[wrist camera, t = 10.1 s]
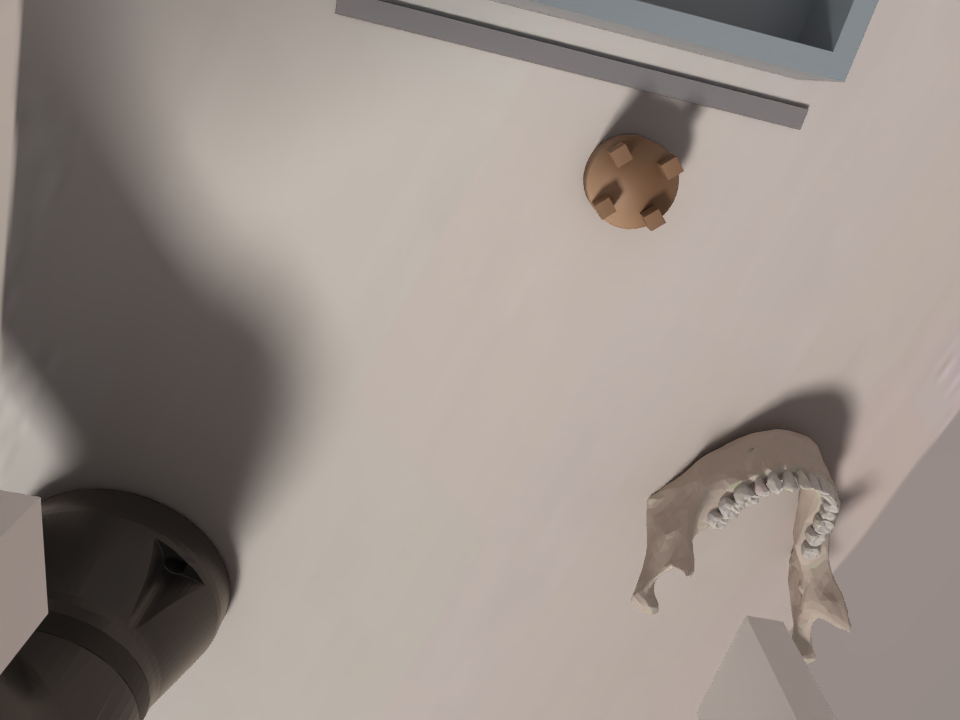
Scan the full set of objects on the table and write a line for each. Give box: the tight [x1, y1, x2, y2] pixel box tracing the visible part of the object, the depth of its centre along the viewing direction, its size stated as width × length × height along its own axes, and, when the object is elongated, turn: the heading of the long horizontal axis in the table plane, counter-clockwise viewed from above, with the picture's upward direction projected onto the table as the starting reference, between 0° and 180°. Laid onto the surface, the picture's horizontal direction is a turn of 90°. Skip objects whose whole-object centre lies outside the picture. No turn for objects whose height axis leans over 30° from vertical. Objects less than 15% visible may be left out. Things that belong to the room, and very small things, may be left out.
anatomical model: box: [631, 429, 851, 663], centre depth 41 cm, size 13×11×10 cm
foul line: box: [335, 0, 808, 130], centre depth 33 cm, size 24×1×1 cm, turn 77°
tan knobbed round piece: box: [583, 134, 683, 231], centre depth 33 cm, size 4×4×3 cm
